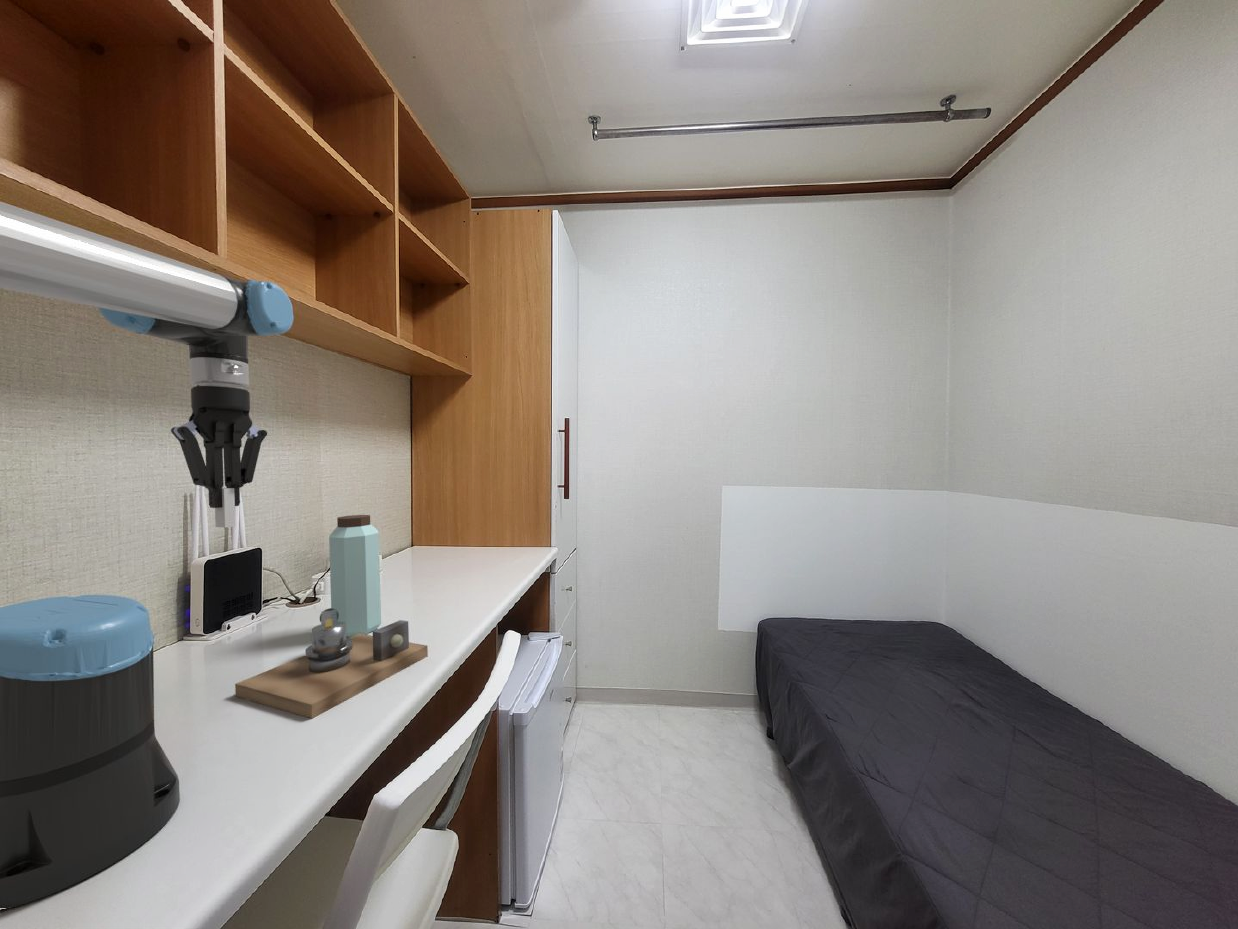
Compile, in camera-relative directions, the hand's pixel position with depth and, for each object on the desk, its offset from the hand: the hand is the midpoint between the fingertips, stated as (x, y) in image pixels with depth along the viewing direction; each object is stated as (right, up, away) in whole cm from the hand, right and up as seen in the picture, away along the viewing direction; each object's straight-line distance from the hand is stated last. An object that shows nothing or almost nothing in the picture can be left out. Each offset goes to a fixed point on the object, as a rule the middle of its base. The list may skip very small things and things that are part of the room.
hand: (225, 526), depth 78 cm
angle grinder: (+14, -22, +6) cm, 27 cm away
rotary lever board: (+18, -26, +2) cm, 32 cm away
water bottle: (+9, -26, +23) cm, 36 cm away
